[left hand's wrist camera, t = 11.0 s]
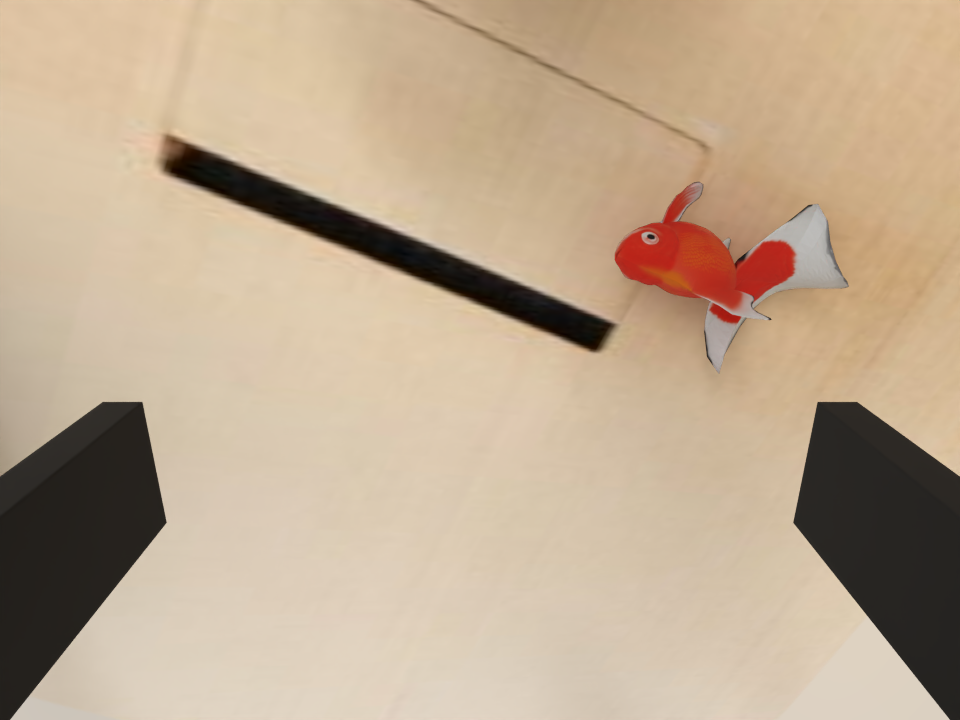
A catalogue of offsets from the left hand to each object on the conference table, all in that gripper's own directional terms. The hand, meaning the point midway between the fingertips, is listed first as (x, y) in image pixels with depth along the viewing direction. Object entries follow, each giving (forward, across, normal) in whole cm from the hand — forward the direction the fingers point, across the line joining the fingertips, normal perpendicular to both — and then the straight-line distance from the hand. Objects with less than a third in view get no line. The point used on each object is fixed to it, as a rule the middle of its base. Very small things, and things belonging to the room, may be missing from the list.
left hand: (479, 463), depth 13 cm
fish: (+32, -16, +2) cm, 35 cm away
